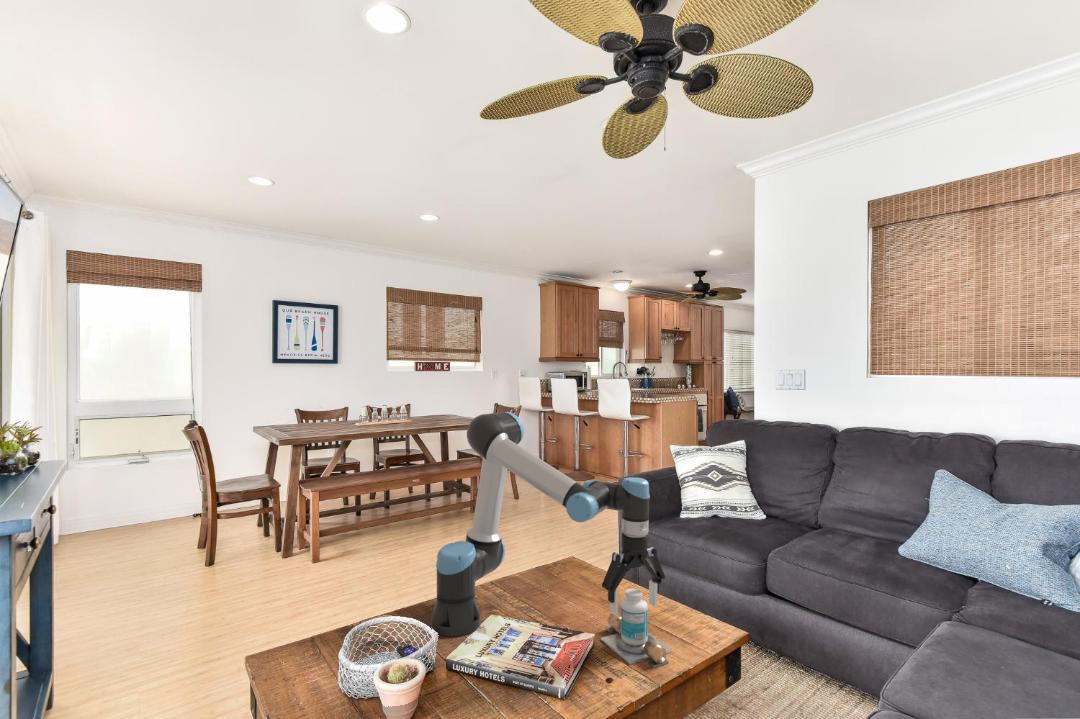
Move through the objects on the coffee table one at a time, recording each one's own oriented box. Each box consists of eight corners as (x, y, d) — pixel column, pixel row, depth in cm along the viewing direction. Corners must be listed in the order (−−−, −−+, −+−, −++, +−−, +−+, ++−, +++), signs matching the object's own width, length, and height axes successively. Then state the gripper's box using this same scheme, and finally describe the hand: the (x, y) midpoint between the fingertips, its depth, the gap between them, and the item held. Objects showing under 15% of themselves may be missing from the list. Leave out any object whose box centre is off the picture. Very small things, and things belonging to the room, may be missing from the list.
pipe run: (593, 633, 154) (593, 617, 154) (631, 623, 160) (631, 608, 160) (639, 672, 134) (639, 654, 134) (681, 659, 140) (681, 642, 140)
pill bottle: (630, 630, 152) (630, 584, 153) (652, 639, 147) (652, 591, 148) (615, 640, 147) (615, 592, 147) (638, 650, 142) (638, 600, 142)
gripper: (605, 543, 139) (603, 623, 138) (678, 532, 150) (677, 606, 149) (590, 535, 145) (589, 611, 145) (661, 524, 156) (660, 595, 156)
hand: (633, 608), depth 147 cm, fingers open, 13 cm apart
